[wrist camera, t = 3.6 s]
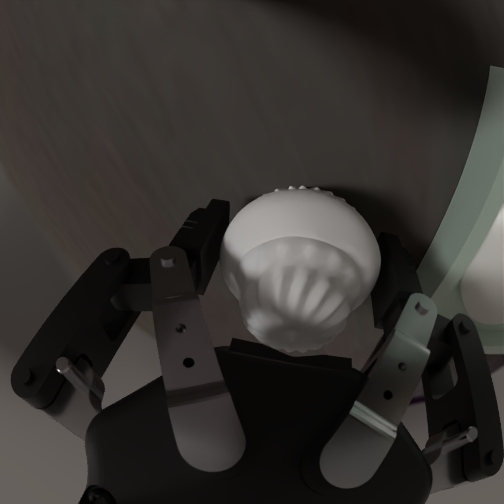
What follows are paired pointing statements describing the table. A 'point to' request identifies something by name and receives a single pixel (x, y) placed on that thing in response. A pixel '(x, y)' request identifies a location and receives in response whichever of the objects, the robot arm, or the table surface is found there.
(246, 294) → the muffin
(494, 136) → the tray
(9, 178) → the table surface
